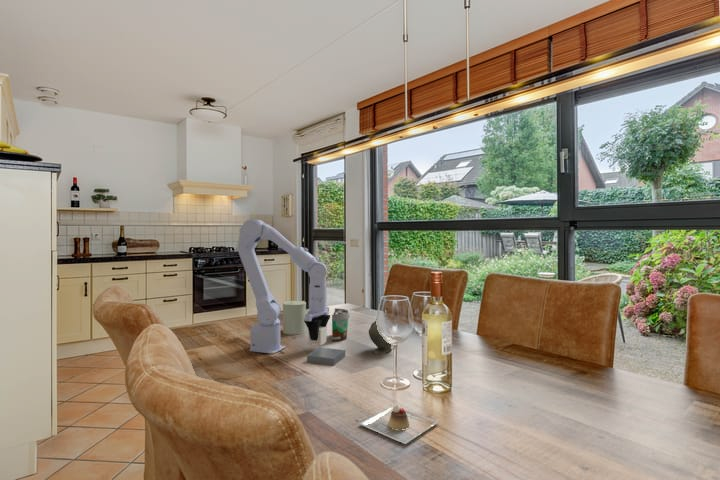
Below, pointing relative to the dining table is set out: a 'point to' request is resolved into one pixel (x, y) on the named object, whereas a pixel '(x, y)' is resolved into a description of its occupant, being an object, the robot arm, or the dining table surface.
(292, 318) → the can
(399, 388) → the dining table surface
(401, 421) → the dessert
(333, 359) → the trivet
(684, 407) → the dining table surface
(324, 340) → the block
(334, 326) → the food container
